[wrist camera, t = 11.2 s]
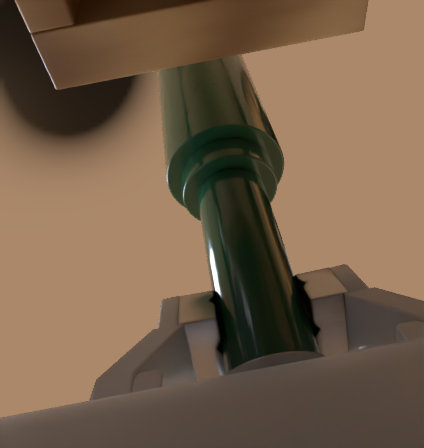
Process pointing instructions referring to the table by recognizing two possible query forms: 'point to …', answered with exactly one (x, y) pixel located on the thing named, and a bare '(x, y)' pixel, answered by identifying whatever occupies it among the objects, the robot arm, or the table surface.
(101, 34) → the shelf
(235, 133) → the bottle
